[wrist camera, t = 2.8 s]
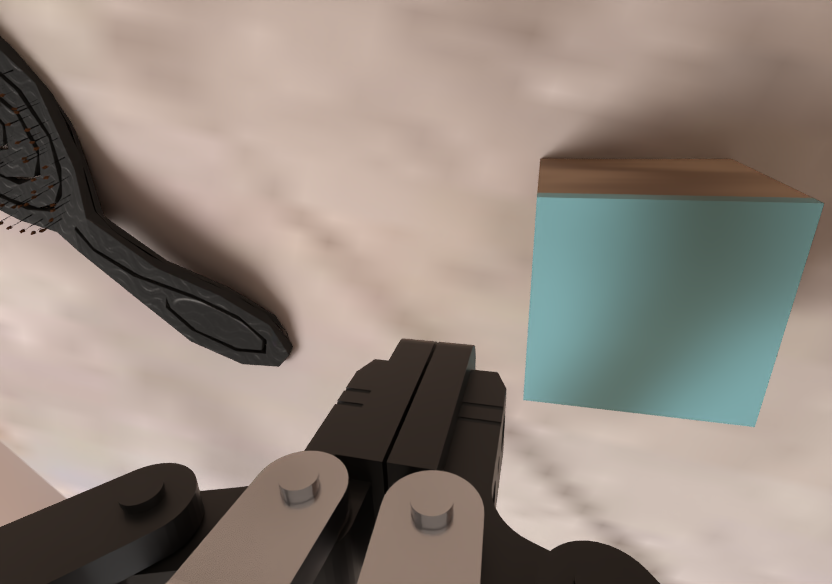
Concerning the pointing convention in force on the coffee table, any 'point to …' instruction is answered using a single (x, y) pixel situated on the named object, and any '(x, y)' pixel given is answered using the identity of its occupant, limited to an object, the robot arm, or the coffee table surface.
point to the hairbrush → (113, 226)
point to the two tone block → (662, 285)
